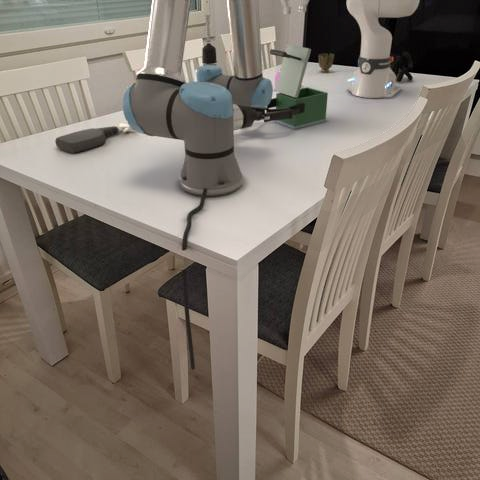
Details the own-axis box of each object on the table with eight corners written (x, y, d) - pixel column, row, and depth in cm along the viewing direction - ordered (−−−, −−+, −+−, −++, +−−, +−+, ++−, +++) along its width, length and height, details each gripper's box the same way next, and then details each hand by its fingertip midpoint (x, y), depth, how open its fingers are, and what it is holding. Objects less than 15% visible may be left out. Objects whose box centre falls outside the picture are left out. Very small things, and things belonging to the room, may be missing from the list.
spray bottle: (53, 147, 134) (120, 127, 150) (74, 154, 128) (141, 133, 144) (51, 137, 132) (118, 118, 149) (72, 145, 126) (140, 124, 143)
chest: (305, 114, 158) (307, 87, 153) (325, 121, 151) (327, 92, 146) (275, 121, 152) (276, 93, 147) (294, 129, 145) (296, 99, 140)
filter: (220, 99, 177) (217, 15, 161) (206, 100, 176) (202, 16, 160) (215, 96, 182) (212, 14, 166) (202, 97, 180) (197, 14, 164)
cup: (315, 72, 216) (316, 55, 212) (320, 69, 222) (321, 52, 218) (330, 73, 213) (331, 56, 209) (334, 71, 219) (336, 53, 215)
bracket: (286, 91, 186) (286, 74, 182) (275, 89, 189) (275, 72, 185) (302, 85, 195) (302, 68, 191) (291, 83, 197) (291, 67, 194)
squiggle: (400, 92, 202) (376, 71, 205) (417, 76, 202) (392, 56, 205) (405, 81, 191) (380, 59, 194) (423, 64, 191) (397, 42, 194)
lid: (289, 45, 142) (269, 38, 136) (311, 49, 135) (290, 42, 129) (277, 91, 147) (257, 87, 141) (297, 98, 140) (277, 93, 134)
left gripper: (217, 120, 145) (271, 108, 156) (260, 138, 130) (316, 123, 141) (216, 96, 141) (271, 86, 152) (260, 112, 126) (317, 99, 137)
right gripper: (316, -44, 132) (313, 9, 139) (261, -41, 122) (261, 15, 129) (331, -44, 127) (327, 10, 135) (276, -41, 117) (275, 17, 125)
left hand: (292, 104), depth 146 cm, fingers closed on chest, 10 cm apart
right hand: (294, 13), depth 132 cm, fingers open, 5 cm apart
